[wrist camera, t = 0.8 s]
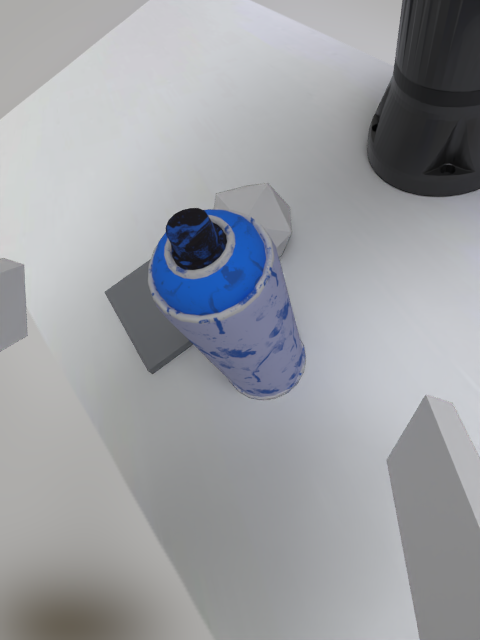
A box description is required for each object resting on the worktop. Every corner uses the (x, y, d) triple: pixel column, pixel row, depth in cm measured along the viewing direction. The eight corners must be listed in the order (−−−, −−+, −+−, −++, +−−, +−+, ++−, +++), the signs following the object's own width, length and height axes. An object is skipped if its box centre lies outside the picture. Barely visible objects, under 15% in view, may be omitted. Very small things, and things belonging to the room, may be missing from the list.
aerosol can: (306, 320, 35) (273, 152, 17) (305, 401, 32) (265, 295, 14) (229, 322, 37) (129, 173, 19) (221, 399, 34) (93, 303, 16)
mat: (191, 237, 43) (188, 232, 42) (246, 304, 37) (244, 300, 36) (109, 296, 42) (104, 292, 41) (152, 373, 37) (148, 371, 36)
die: (297, 216, 41) (238, 153, 37) (324, 241, 34) (254, 166, 29) (248, 266, 43) (187, 213, 39) (263, 300, 36) (189, 239, 32)
